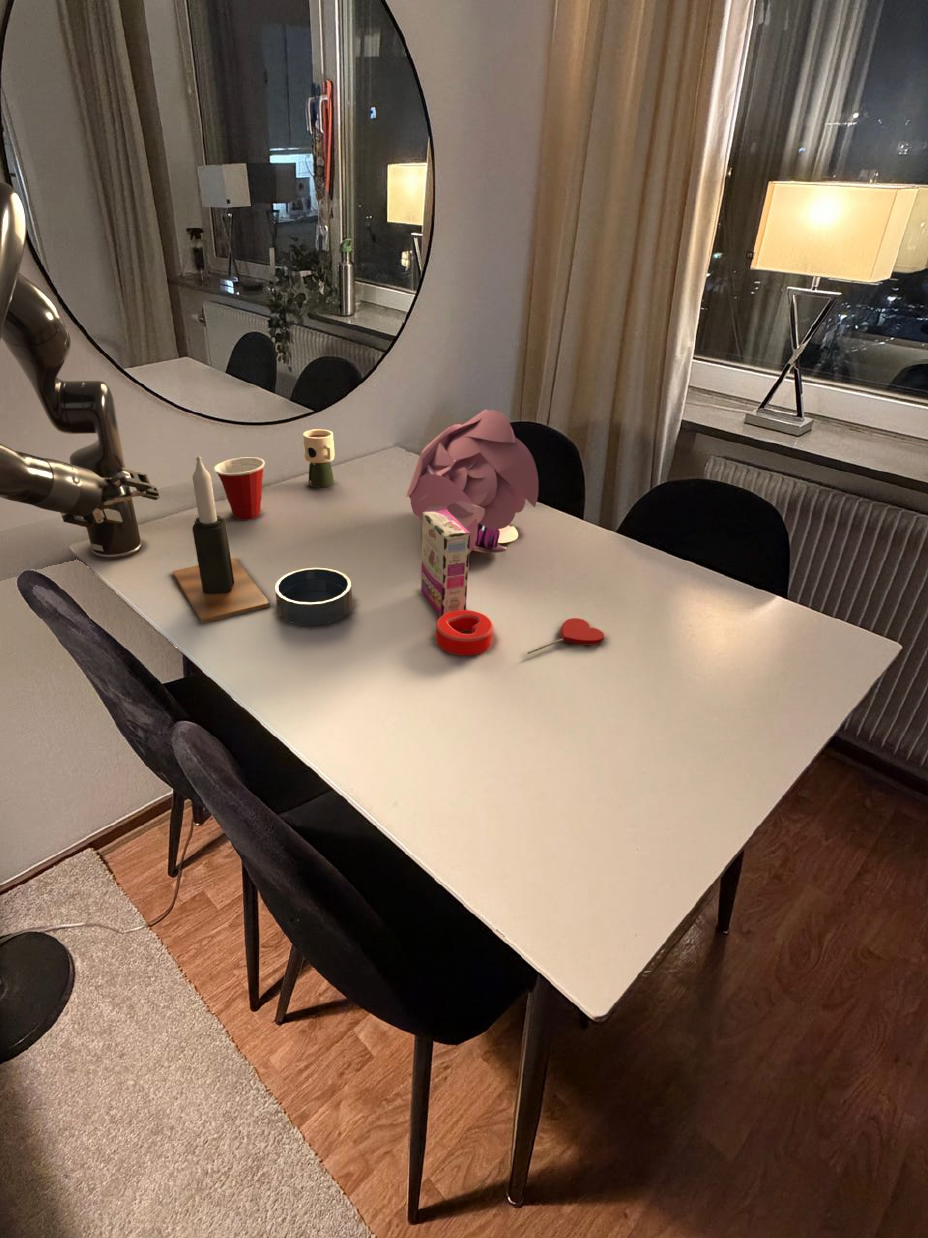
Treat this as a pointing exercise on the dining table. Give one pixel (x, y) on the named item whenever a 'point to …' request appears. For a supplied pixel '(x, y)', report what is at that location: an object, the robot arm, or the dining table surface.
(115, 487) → the robot arm
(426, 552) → the candy bar box
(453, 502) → the flower arrangement
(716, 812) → the dining table surface
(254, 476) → the plastic cup
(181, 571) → the mat
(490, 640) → the decorative ornament
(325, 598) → the bowl
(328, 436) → the character mug
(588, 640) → the lollipop
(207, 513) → the candle
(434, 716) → the dining table surface
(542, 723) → the dining table surface
